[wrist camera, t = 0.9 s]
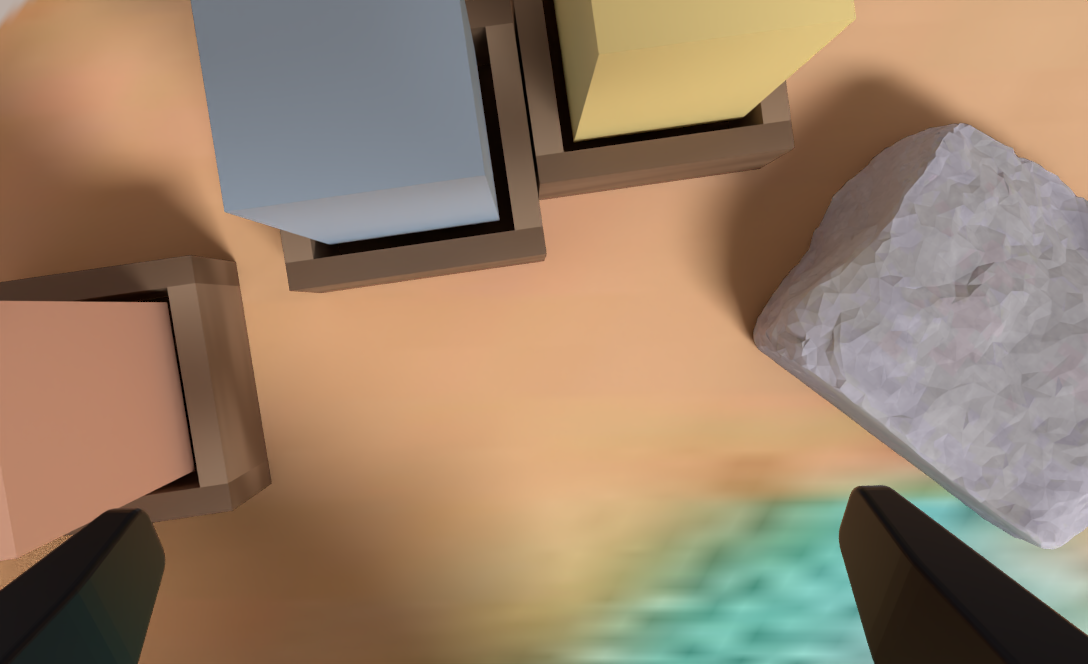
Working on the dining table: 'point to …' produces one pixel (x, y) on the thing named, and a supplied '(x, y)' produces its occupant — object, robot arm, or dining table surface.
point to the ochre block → (683, 58)
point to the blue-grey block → (346, 115)
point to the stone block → (953, 324)
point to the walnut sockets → (393, 250)
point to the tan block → (84, 414)
